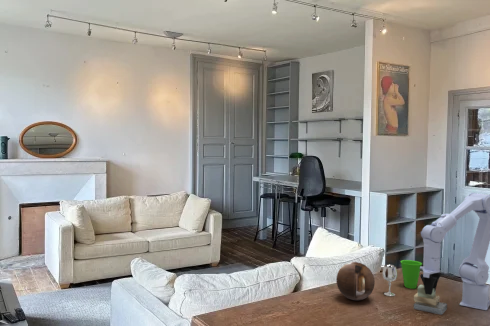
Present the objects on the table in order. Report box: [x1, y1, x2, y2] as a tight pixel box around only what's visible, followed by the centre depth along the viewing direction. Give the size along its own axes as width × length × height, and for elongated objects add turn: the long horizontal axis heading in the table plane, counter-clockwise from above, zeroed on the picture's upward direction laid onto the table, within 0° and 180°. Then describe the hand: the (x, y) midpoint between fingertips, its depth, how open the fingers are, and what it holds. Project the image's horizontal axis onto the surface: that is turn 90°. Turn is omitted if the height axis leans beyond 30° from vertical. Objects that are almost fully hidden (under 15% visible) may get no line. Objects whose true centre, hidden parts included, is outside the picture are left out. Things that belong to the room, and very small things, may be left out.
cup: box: [400, 259, 423, 290], centre depth 190 cm, size 9×9×11 cm
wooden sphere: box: [335, 261, 375, 301], centre depth 174 cm, size 15×15×15 cm
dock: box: [413, 301, 448, 316], centre depth 164 cm, size 10×8×2 cm
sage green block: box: [413, 284, 440, 305], centre depth 166 cm, size 8×6×6 cm
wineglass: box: [382, 264, 398, 297], centre depth 180 cm, size 6×6×12 cm
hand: (430, 292), depth 163 cm, fingers open, 5 cm apart
